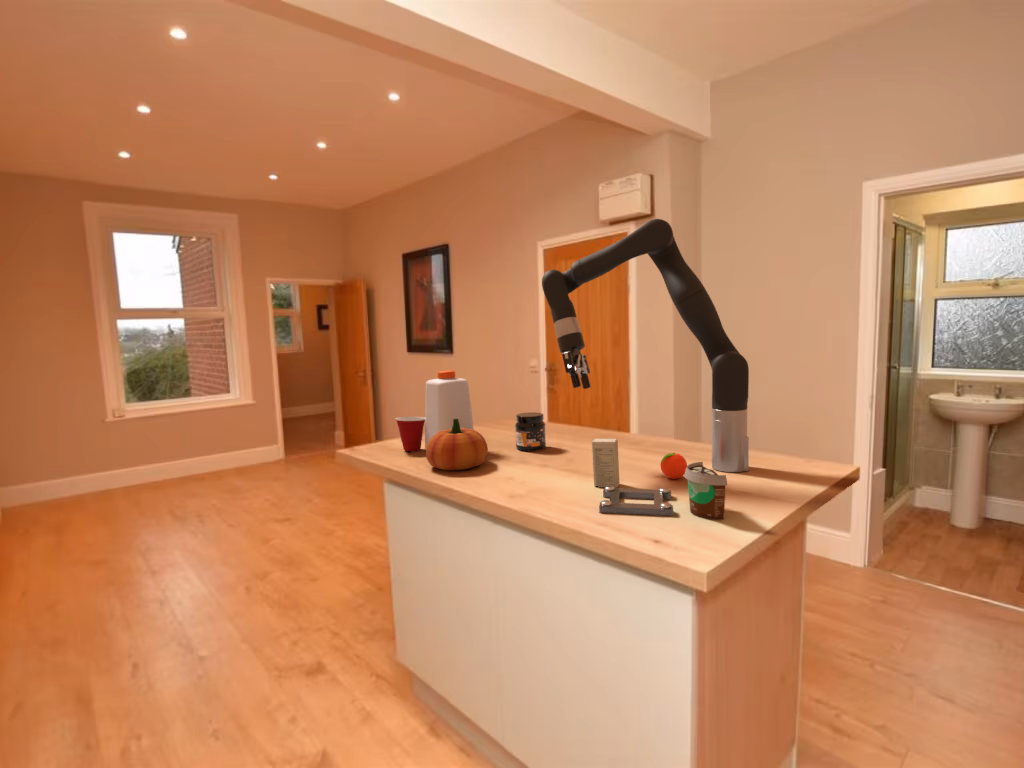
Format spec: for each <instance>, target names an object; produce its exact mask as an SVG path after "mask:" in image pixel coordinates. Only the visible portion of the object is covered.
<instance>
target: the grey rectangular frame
mask: <svg viewBox="0 0 1024 768" xmlns="http://www.w3.org/2000/svg"><path fill="white" fill-rule="evenodd" d="M602 491H603V492H602V497H603V498H609V500H608V499H603V500H601V501H599V505H598V506H599V507H598V509H599V512H598V513H599V514H618V515H619V514H621V515H637V516H639V515H640V516H656V517H657V516H658V517H659V516H661V517H674V505H673V504H672V503H670V502H664V500H665V501H672V490H671V489H670V488H669V487H660V488H659V489H656V488H655V489H654V488H653V489H652V488H624V487H617V488H615V487H614V486H606V487H603V490H602ZM620 499H637V500H638V499H640V500H653V504H652V503H633V502H632V503H631V502H630V503H629V502H620ZM663 499H664V500H663Z"/></svg>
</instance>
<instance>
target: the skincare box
mask: <svg viewBox="0 0 1024 768" xmlns="http://www.w3.org/2000/svg"><path fill="white" fill-rule="evenodd" d="M618 442H619V441H618V438H594V439H593V440H592V441H591V450H592V452H591V453H592V467H593V468H592V469H593V471H592V472H593V485H594V486H598V487H597V488H605V487H606V486H614V487H615V488H619V485H620V467H619V466H620V465H619V445H618Z"/></svg>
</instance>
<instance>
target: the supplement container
mask: <svg viewBox="0 0 1024 768" xmlns="http://www.w3.org/2000/svg"><path fill="white" fill-rule="evenodd" d="M544 419H545V417H544V413H542V412H535V411H534V412H532V411H531V412H521V413H517V414H516V415H515V420H516V422H515V424H514V428H515V448H516V449H517V450H519V451H522V452H537V451H536V450H538V451H542V450H543V448H544V449H545V448H546V446H547V444H546V422H544ZM541 449H542V450H541Z"/></svg>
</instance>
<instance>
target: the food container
mask: <svg viewBox="0 0 1024 768" xmlns="http://www.w3.org/2000/svg"><path fill="white" fill-rule="evenodd" d="M703 462H704V461H696V462H692V463H689V464H687V468H686V470H685V474H684V475H683V476H684V478H685V479H686V480H687V489H688V502H689V510H690V511H689V512H690V513H691V514H692V515H693V516H695V517H697V518H701V519H706V520H713V521H714V520H715V521H722V520H725V507H726V506H725V503H726V488H727V487H726V486H728V478H727V475H726V474H718V473H717V472H715V471H714V469H709V468H707V467H705V466H704V463H703Z"/></svg>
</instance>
